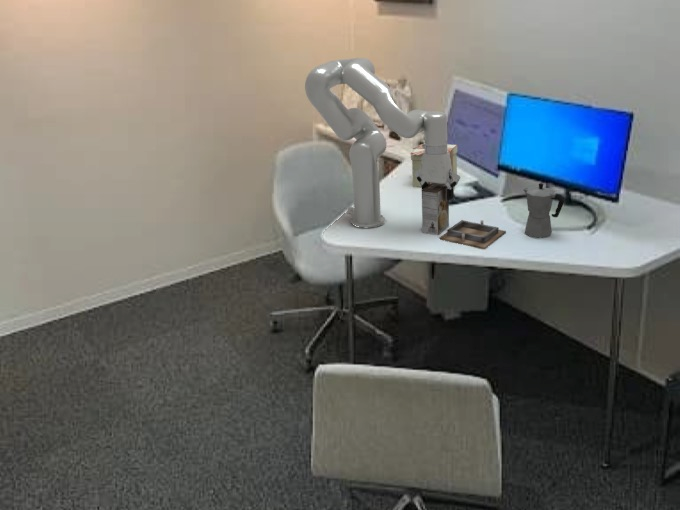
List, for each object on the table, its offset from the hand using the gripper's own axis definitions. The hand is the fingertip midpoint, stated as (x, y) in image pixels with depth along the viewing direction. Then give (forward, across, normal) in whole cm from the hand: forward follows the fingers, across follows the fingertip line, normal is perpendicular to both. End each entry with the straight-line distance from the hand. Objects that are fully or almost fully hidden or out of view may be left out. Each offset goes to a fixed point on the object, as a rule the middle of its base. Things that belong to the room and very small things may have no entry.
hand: (437, 197), depth 250 cm
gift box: (+12, -28, +43) cm, 53 cm away
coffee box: (+12, -1, 0) cm, 12 cm away
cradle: (+13, +13, +1) cm, 18 cm away
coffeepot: (+14, +32, +14) cm, 37 cm away
